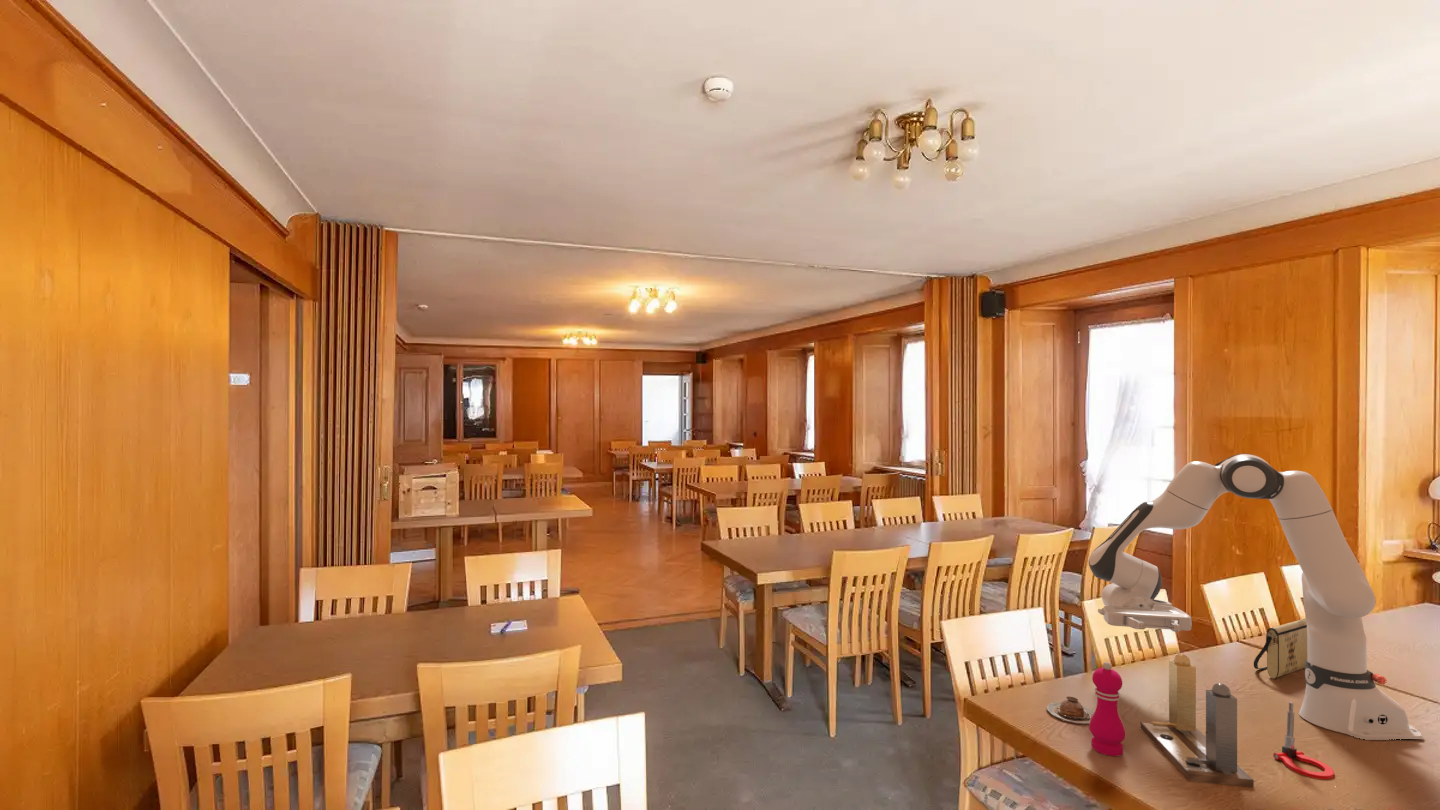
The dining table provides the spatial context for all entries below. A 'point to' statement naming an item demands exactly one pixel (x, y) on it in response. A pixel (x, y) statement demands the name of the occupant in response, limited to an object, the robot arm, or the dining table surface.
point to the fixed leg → (1220, 730)
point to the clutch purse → (1285, 648)
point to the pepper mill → (1107, 712)
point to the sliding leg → (1181, 695)
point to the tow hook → (1299, 753)
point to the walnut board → (1217, 776)
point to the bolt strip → (1179, 747)
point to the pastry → (1070, 710)
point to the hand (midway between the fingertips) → (1159, 627)
